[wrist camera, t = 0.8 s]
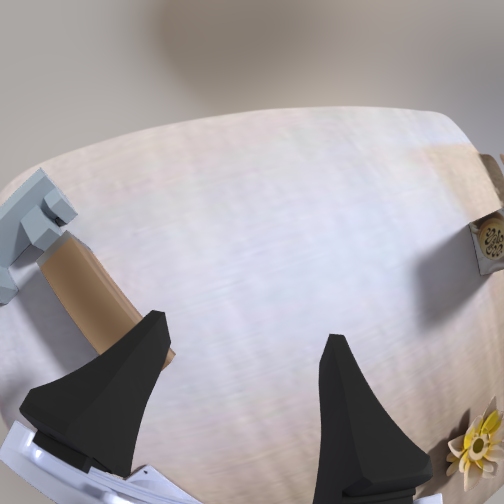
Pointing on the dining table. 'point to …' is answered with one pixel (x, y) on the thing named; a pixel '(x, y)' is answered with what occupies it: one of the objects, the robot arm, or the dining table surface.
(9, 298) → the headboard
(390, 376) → the dining table surface
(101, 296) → the brown grey rectangular block
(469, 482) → the decorative flower
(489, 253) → the coffee box
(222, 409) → the dining table surface
